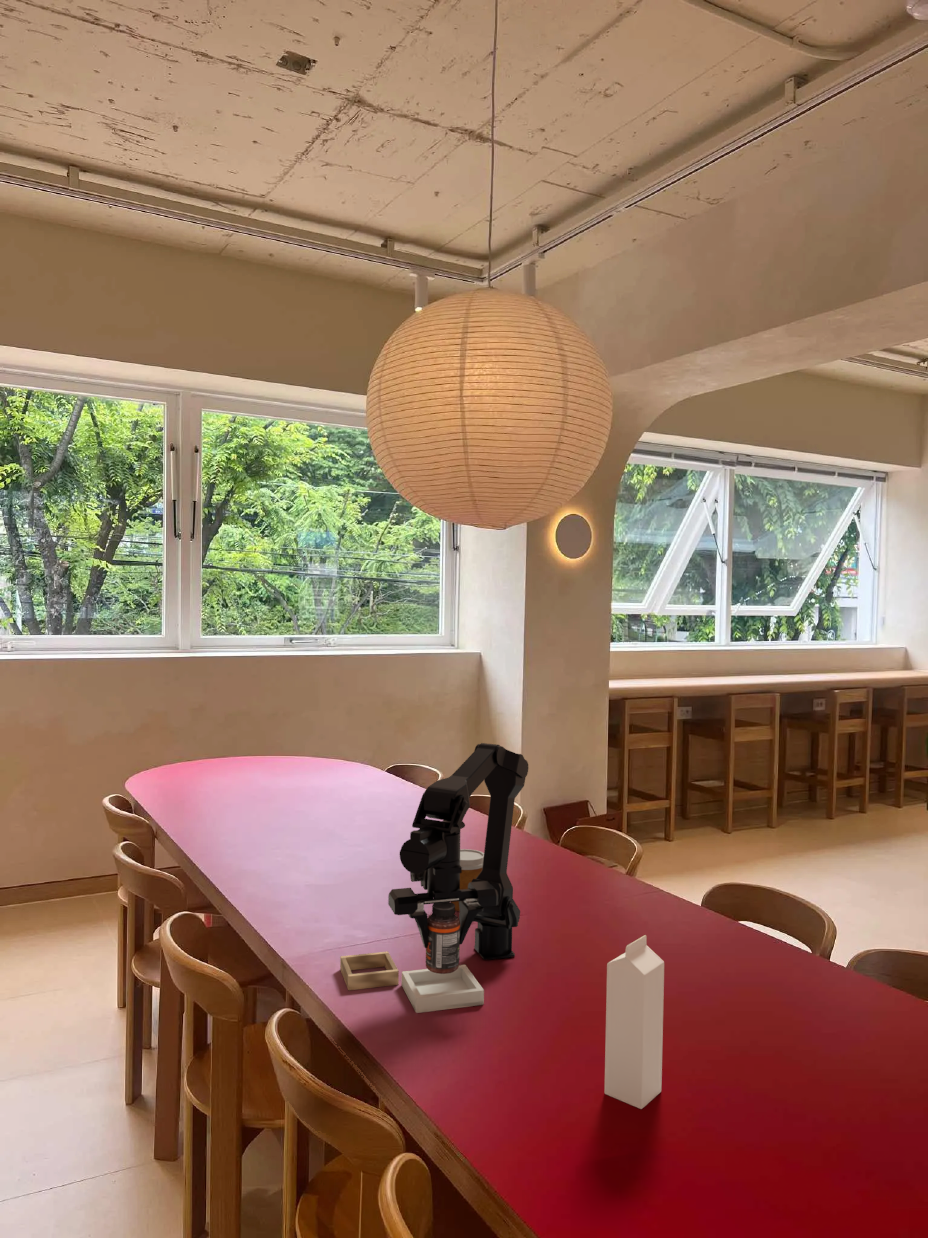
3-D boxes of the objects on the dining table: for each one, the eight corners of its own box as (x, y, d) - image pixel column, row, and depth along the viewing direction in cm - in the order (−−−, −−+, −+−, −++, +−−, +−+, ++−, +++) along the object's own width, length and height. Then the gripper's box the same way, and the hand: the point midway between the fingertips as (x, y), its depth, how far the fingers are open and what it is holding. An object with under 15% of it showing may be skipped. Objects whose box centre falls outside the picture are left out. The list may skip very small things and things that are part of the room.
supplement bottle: (422, 962, 159) (423, 900, 159) (454, 960, 161) (455, 897, 161) (429, 977, 154) (431, 912, 153) (462, 973, 155) (464, 909, 155)
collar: (387, 964, 170) (388, 951, 170) (398, 984, 161) (398, 971, 161) (340, 969, 167) (340, 956, 167) (348, 990, 158) (348, 976, 158)
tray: (465, 978, 164) (465, 964, 164) (483, 1004, 154) (484, 990, 154) (401, 985, 161) (401, 971, 161) (416, 1013, 150) (416, 998, 150)
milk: (661, 1092, 128) (666, 940, 127) (641, 1110, 123) (646, 952, 122) (624, 1076, 131) (628, 929, 131) (602, 1094, 127) (607, 940, 126)
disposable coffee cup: (482, 916, 196) (483, 862, 195) (440, 912, 198) (440, 859, 197) (489, 902, 205) (490, 850, 205) (449, 898, 207) (450, 847, 207)
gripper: (480, 841, 167) (479, 923, 167) (382, 848, 161) (381, 934, 162) (499, 859, 156) (498, 946, 157) (395, 867, 151) (394, 958, 151)
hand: (442, 945), depth 157 cm, fingers closed on supplement bottle, 6 cm apart
